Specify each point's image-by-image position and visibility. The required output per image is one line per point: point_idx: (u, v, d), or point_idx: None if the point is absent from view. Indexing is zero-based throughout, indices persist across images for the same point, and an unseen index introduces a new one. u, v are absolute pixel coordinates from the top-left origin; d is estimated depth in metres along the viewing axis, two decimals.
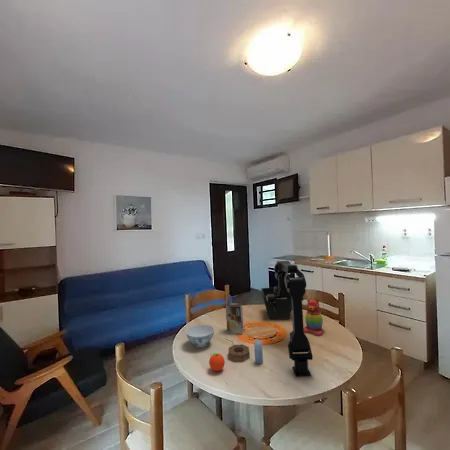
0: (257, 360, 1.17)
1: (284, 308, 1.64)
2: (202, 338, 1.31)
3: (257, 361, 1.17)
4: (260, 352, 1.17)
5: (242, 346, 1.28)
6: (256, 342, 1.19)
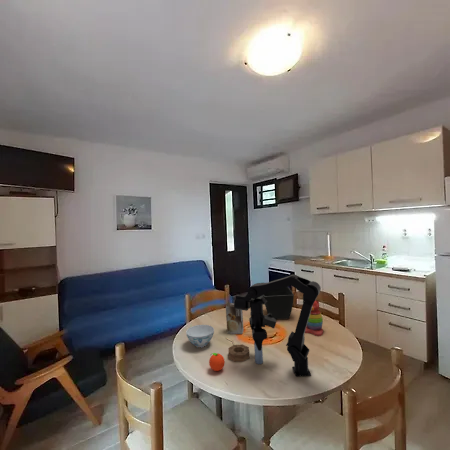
0: (257, 360, 1.17)
1: (284, 308, 1.64)
2: (202, 338, 1.31)
3: (257, 361, 1.17)
4: (260, 352, 1.17)
5: (242, 346, 1.28)
6: None
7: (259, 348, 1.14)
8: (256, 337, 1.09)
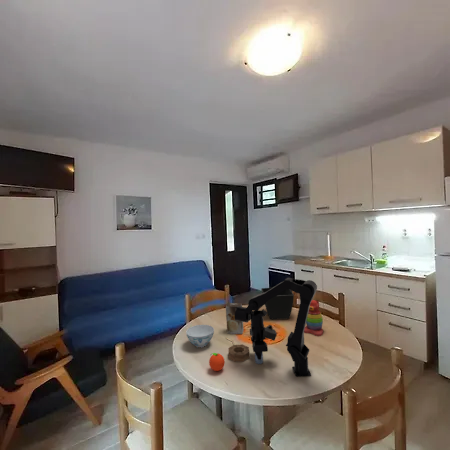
0: (257, 360, 1.17)
1: (284, 308, 1.64)
2: (202, 338, 1.31)
3: (257, 361, 1.17)
4: None
5: (242, 346, 1.28)
6: None
7: (259, 357, 1.16)
8: (256, 350, 1.09)
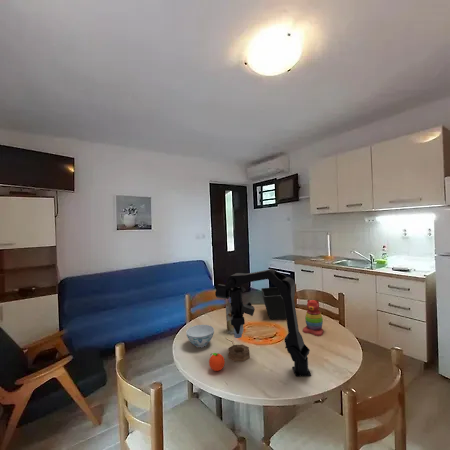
0: (236, 334, 1.23)
1: (284, 308, 1.64)
2: (202, 338, 1.31)
3: (236, 335, 1.23)
4: None
5: (242, 346, 1.28)
6: None
7: (237, 331, 1.22)
8: (234, 323, 1.15)
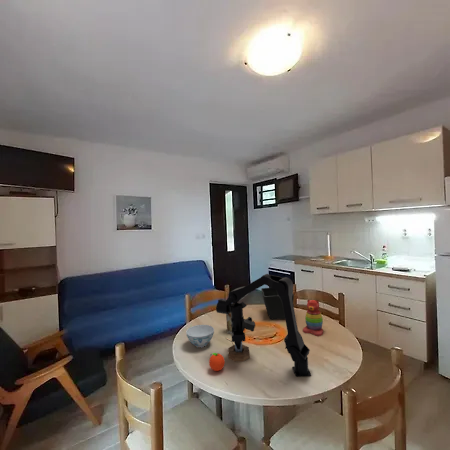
0: (237, 350, 1.23)
1: None
2: (202, 338, 1.31)
3: (237, 351, 1.23)
4: None
5: (242, 346, 1.28)
6: None
7: (238, 347, 1.22)
8: (235, 340, 1.15)
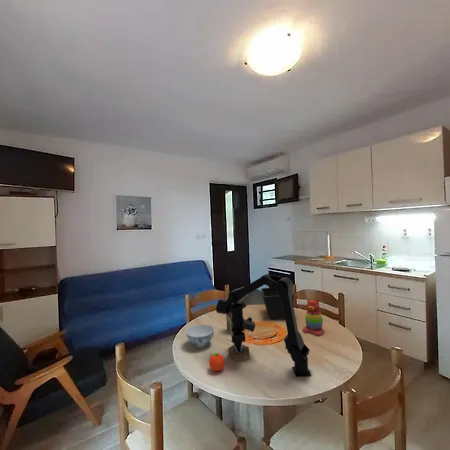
0: None
1: None
2: (202, 338, 1.31)
3: None
4: None
5: (242, 346, 1.28)
6: None
7: (238, 349, 1.21)
8: (235, 340, 1.16)
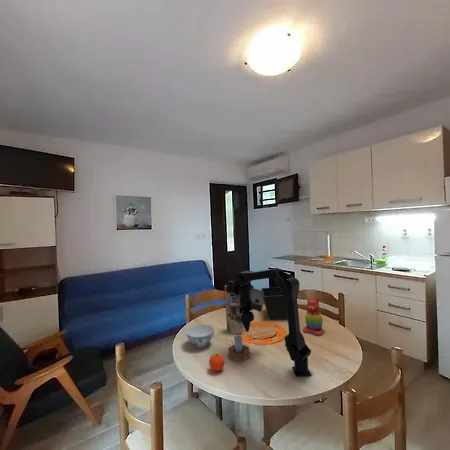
0: None
1: (284, 308, 1.64)
2: (202, 338, 1.31)
3: None
4: (240, 346, 1.23)
5: (242, 346, 1.28)
6: (236, 337, 1.25)
7: (247, 329, 1.24)
8: (244, 319, 1.19)
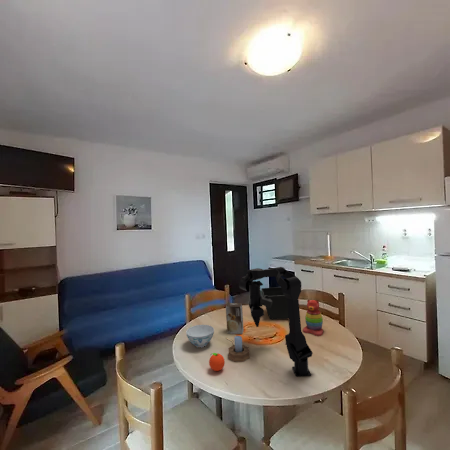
0: None
1: (284, 308, 1.64)
2: (202, 338, 1.31)
3: None
4: (240, 346, 1.23)
5: (242, 346, 1.28)
6: (236, 337, 1.25)
7: (257, 324, 1.29)
8: (254, 314, 1.24)
